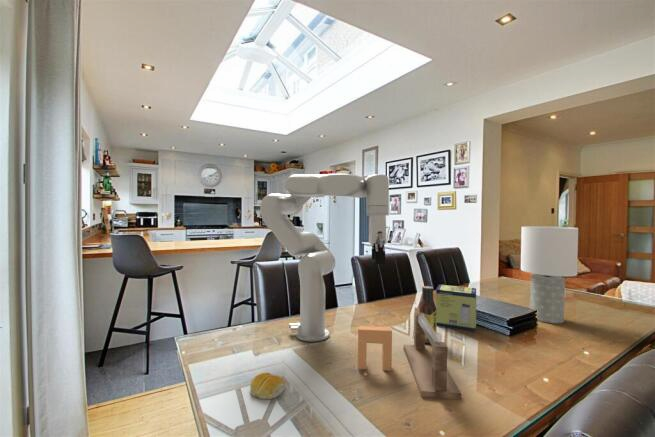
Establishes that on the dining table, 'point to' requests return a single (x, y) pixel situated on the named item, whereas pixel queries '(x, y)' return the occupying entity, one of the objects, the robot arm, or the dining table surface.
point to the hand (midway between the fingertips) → (378, 261)
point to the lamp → (549, 267)
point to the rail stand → (430, 362)
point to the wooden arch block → (379, 337)
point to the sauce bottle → (428, 308)
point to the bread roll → (267, 386)
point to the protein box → (456, 307)
